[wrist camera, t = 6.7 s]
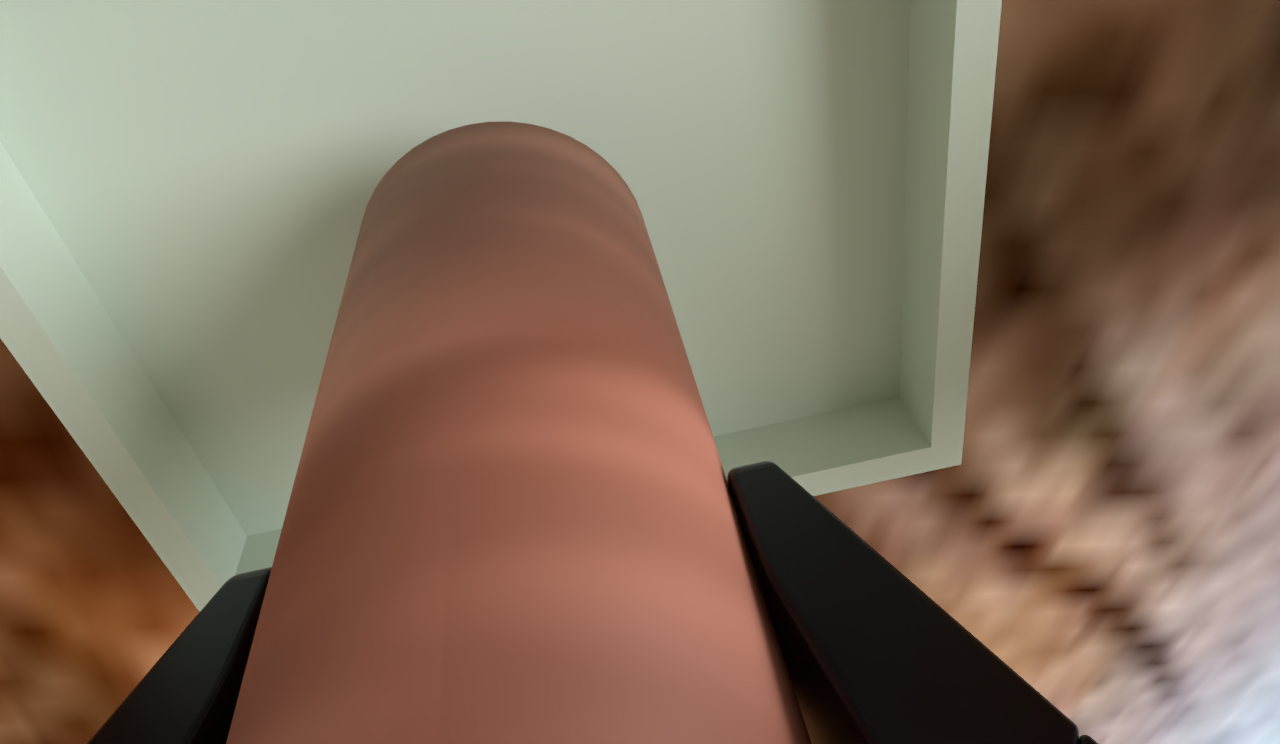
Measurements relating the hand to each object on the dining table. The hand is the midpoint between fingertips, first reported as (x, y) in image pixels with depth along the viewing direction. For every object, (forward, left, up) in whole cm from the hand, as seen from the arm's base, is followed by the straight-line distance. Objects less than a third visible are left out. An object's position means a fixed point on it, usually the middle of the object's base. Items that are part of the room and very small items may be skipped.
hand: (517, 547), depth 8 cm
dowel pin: (0, 0, -6) cm, 6 cm away
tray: (0, 0, -8) cm, 8 cm away
